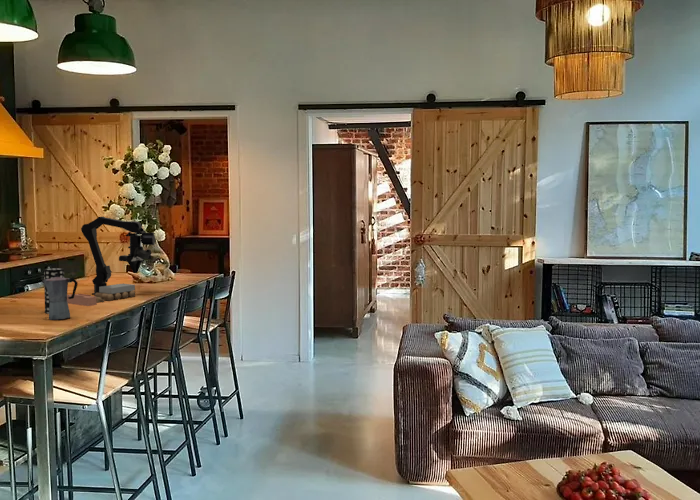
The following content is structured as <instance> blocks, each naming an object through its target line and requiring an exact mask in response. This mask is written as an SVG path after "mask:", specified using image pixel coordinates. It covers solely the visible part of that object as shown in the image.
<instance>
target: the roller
mask: <svg viewBox="0 0 700 500" xmlns="http://www.w3.org/2000/svg"><path fill="white" fill-rule="evenodd" d="M96 303H97V304H98V303H99V304H100V303H102V302H101V298H100V297H96Z"/></svg>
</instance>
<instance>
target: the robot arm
mask: <svg viewBox="0 0 700 500" xmlns="http://www.w3.org/2000/svg"><path fill="white" fill-rule="evenodd" d="M102 225H105V226H111V227H116V228H120V229H124V230H126V231H128V233H127V234H125V236H126V237H129V246H128V247H127V248H128V249H129V253H128V254H127V255H126V254H123V255H119V256H118V261H119V262H126V263H127V264H128V265H129V267H130V269H131V270H132V272H133V274H138V272H139V270H140V267H141V264H142V263H143V262H145V260H144V259H146V260H151V259H152V250H151V249H144V248H143V246H142V245H144V246H145V245H146V246H154V245H156V236H155V233H154V232H146V231H145V229H144V228H143V225H142V223H141V222H139V221H133V220H132V221H129V220H128V221H125V220H119V219H115V218H110V217H106V216H98V217H97V218H96V219H94V220H92V221H90V222H88V223H84V224H83V225H82V226H81V227H80V230H81V233H82V235H83V237H84V238H85V239H86V240H87V243H88V244H89V245H88V246H89V247H90V251H91V255H92V257H93V261H94V263H95V264H94V265H95V274H96V275H95V277H94V278H93V279H92V280H91V282H92V284H93V291H94V293H93V292H92V293H91V294H92V295H94V296H95V293H99V287H101V286H108V284H107V283H108V281H109V279H110V278H112V277H111V276H112V273H113V271H112V270H111V266H110V265H107V264H106V263H105V260H104V258H103V254H102V252H101V248H100V245H99V242H98V238H97V237H98V232H97V231H98V230H97V229H99V228H100V227H102Z"/></svg>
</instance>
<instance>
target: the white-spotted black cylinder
mask: <svg viewBox="0 0 700 500" xmlns="http://www.w3.org/2000/svg"><path fill="white" fill-rule="evenodd" d="M55 273H58V277H62V278H65V269H64V268H60V267H59V268H58V267H54V268H51V267H50V268H44V270H43V277H44V278H43V280H45V279H50V278H54V277H55ZM43 287H44V291H43V292H44V313H45V314H48V315H49V305H50V301H49V296H48V291H47V288H46V286H45V285H44V284H43Z"/></svg>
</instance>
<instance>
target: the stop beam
mask: <svg viewBox="0 0 700 500" xmlns="http://www.w3.org/2000/svg"><path fill="white" fill-rule="evenodd" d="M72 294H73V293H71V294H67V303H68V305H69V304H71V305H78V306H83V307H84V306H86V307H90V306H96V305H97V304H98V303H96V297H95V295H94V296H93V295H91V294H86V293H75V295H74V298H73V299H68V297H71V296H72Z"/></svg>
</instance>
